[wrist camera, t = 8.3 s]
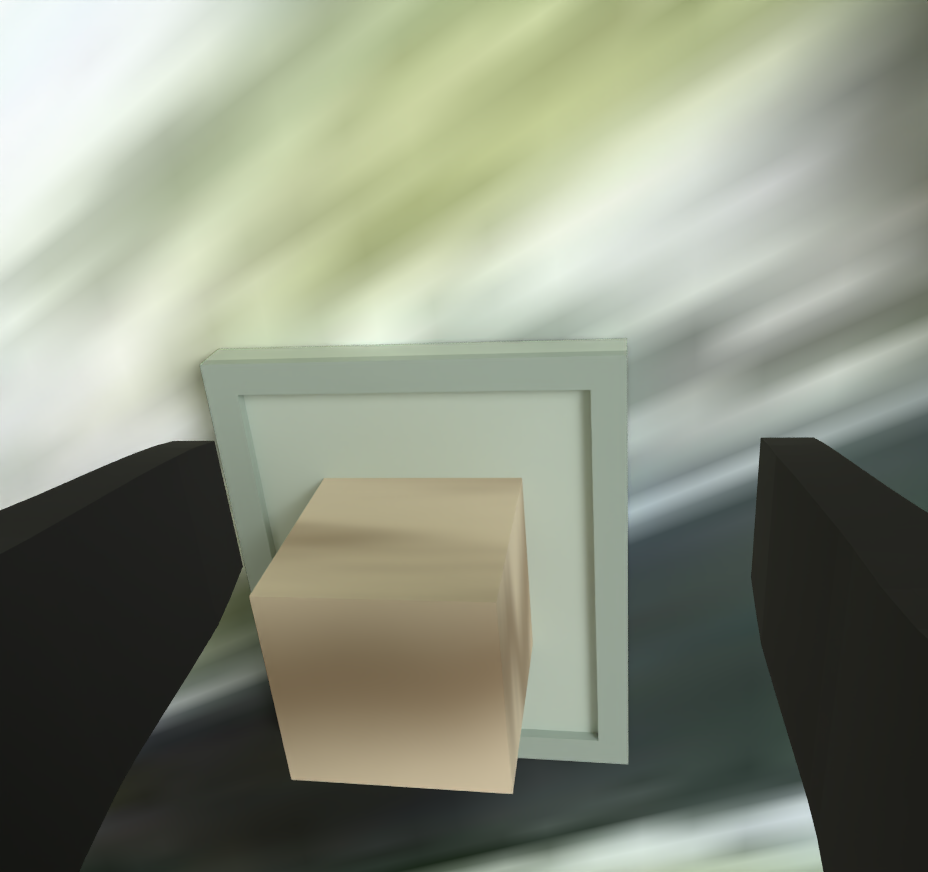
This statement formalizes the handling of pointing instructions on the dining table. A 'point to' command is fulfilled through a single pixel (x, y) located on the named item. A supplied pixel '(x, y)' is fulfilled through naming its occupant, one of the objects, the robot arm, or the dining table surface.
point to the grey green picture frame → (461, 456)
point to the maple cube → (401, 633)
